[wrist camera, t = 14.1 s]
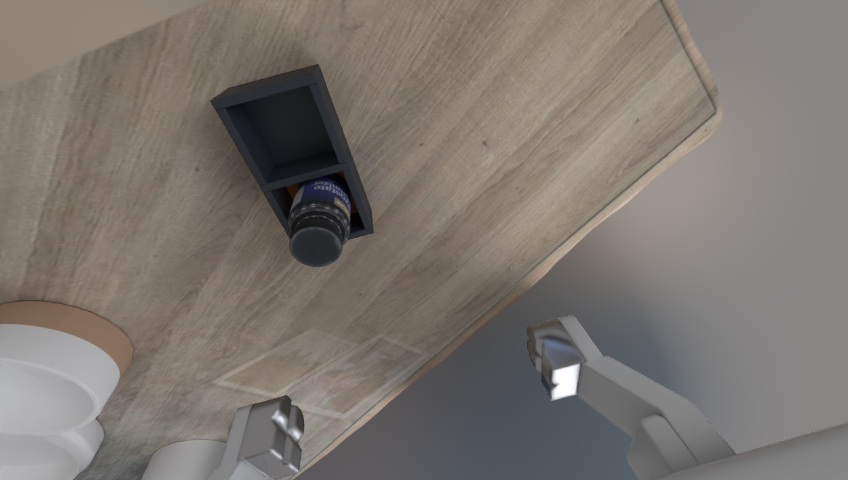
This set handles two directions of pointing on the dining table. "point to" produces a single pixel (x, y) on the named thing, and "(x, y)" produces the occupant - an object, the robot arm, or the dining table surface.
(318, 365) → the dining table surface
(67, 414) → the bowl
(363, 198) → the black divided organizer
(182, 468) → the cylinder
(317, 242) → the pill bottle
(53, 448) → the plate
